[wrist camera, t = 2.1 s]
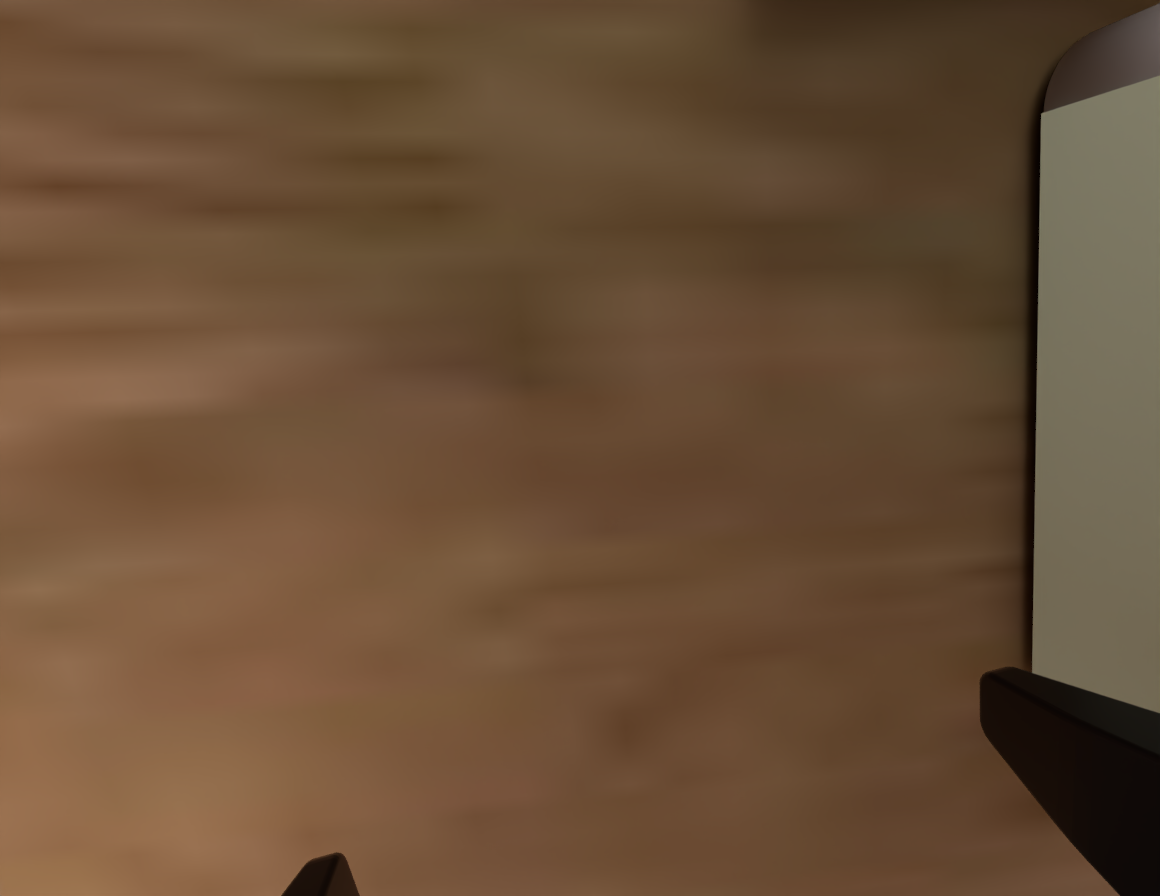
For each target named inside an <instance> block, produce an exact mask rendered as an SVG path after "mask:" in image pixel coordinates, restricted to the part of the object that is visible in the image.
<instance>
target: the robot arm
mask: <svg viewBox="0 0 1160 896" xmlns="http://www.w3.org/2000/svg"><path fill="white" fill-rule="evenodd" d="M980 722H981V726H982V729H983V731H984V733H985V735H986V737H987V738H988V740H989V741H990V742H991V744H992V745H993V746H994V747H995V749H996V750H997V751H998V752H999V754H1000V755H1001V756H1002V757H1003V759H1004V760H1005V761H1006V762H1007V764H1008V765H1009V766H1010V767H1011V769H1012V770H1013V771H1014V773H1015V774H1016V775H1017V776H1018V778H1019V779H1020V780H1021V781H1022V783H1023V784H1024V785H1025V786H1026V788H1027V789H1028V790H1029V791H1030V793H1031V794H1032V795H1033V796H1034V798H1035V799H1036V800H1037V801H1038V803H1039V804H1040V805H1041V806H1042V808H1043V809H1044V810H1045V811H1046V813H1047V814H1048V815H1049V816H1050V818H1051V819H1052V820H1053V821H1054V823H1055V824H1056V825H1057V826H1058V828H1059V829H1060V830H1061V831H1062V832H1063V834H1064V835H1065V836H1066V837H1067V838H1068V839H1069V841H1070V842H1071V843H1072V844H1073V845H1074V846H1075V847H1076V849H1077V850H1078V851H1079V852H1080V853H1081V854H1082V855H1083V856H1084V857H1085V859H1086V860H1087V861H1088V862H1089V863H1090V864H1091V865H1092V866H1093V867H1094V868H1095V869H1096V870H1097V872H1098V873H1099V874H1100V875H1101V876H1102V877H1103V878H1104V879H1105V880H1106V881H1107V882H1108V883H1109V884H1110V885H1111V886H1112V888H1113V889H1114V890H1115V891H1116V892H1117V893H1118V894H1119V895H1120V896H1160V713H1158V712H1155V711H1151V710H1148V709H1145V708H1142V707H1139V706H1136V705H1132V704H1129V703H1126V702H1123V701H1120V700H1117V699H1113V698H1110V697H1107V696H1104V695H1101V694H1098V693H1094V692H1091V691H1088V690H1085V689H1082V688H1079V687H1075V686H1072V685H1069V684H1066V683H1063V682H1060V681H1056V680H1053V679H1050V678H1047V677H1044V676H1041V675H1037V674H1034V673H1031V672H1028V671H1025V670H1022V669H1018V668H1015V667H1003V668H1000V669H996V670H992V671H989V672H986V673H984V674H983V675H982V677H981V679H980ZM281 896H360V895H359V893H358V890H357V887H356V884H355V882H354V879H353V876H352V873H351V871H350V868H349V865H348V862H347V860H346V858H345V856H344V855H343V854H342V853H333V854H329V855H325V856H322V857H318V858H315V859H312V860H310V861H309V862H307V863H306V864H305V865H304V867H303V868H302V869H301V870H300V872H299V873H298V874H297V876H296V877H295V878H294V880H293V881H292V882H291V884H290V885H289V886H288V887H287V889H286V890H285V891H284V893H283V894H282V895H281Z"/></svg>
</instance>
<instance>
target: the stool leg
mask: <svg viewBox="0 0 1160 896" xmlns="http://www.w3.org/2000/svg"><path fill="white" fill-rule="evenodd" d="M1032 673H1034V674H1037V675H1041V676H1044V677H1047V678H1050V679H1053V680H1056V681H1060V682H1063V683H1066V684H1069V685H1072V686H1075V687H1079V688H1082V689H1085V690H1088V691H1091V692H1094V693H1098V694H1101V695H1104V696H1107V697H1110V698H1113V699H1117V700H1120V701H1123V702H1126V703H1129V704H1132V705H1136V706H1139V707H1142V708H1145V709H1148V710H1151V711H1155V712H1158V713H1160V3H1159V4H1157V5H1155V6H1152V7H1150V8H1148V9H1145V10H1143V11H1141V12H1138V13H1136V14H1133V15H1131V16H1129V17H1126V18H1124V19H1122V20H1119V21H1117V22H1115V23H1112V24H1110V25H1108V26H1105V27H1103V28H1101V29H1098V30H1096V31H1094V32H1091V33H1089V34H1088V35H1086V36H1084V37H1082V38H1081V39H1080V40H1079V41H1077V42H1076V43H1075V44H1074V45H1073V46H1072V47H1071V48H1070V49H1069V50H1068V51H1067V52H1066V53H1065V55H1064V56H1063V57H1062V59H1061V60H1060V62H1059V63H1058V65H1057V67H1056V69H1055V71H1054V72H1053V74H1052V77H1051V80H1050V82H1049V85H1048V88H1047V92H1046V97H1045V103H1044V113H1041V155H1040V216H1039V278H1038V340H1037V402H1036V464H1035V526H1034V587H1033V649H1032Z"/></svg>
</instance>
